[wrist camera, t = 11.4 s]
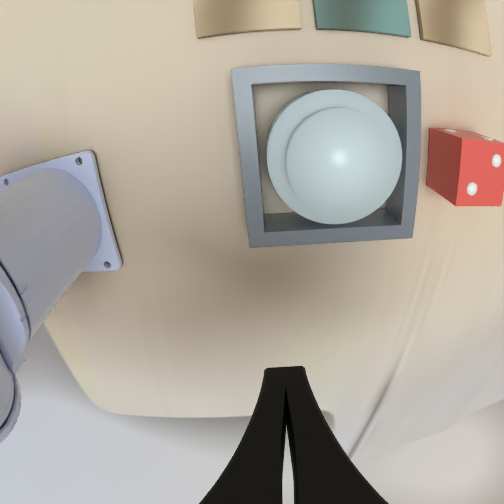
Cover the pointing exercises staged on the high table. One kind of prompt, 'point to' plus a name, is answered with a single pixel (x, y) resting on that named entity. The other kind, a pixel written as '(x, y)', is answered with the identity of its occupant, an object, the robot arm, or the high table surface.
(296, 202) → the dome
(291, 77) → the dome frame
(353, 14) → the track
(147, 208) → the high table surface
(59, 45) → the high table surface
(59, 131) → the high table surface
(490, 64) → the high table surface
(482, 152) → the red die
